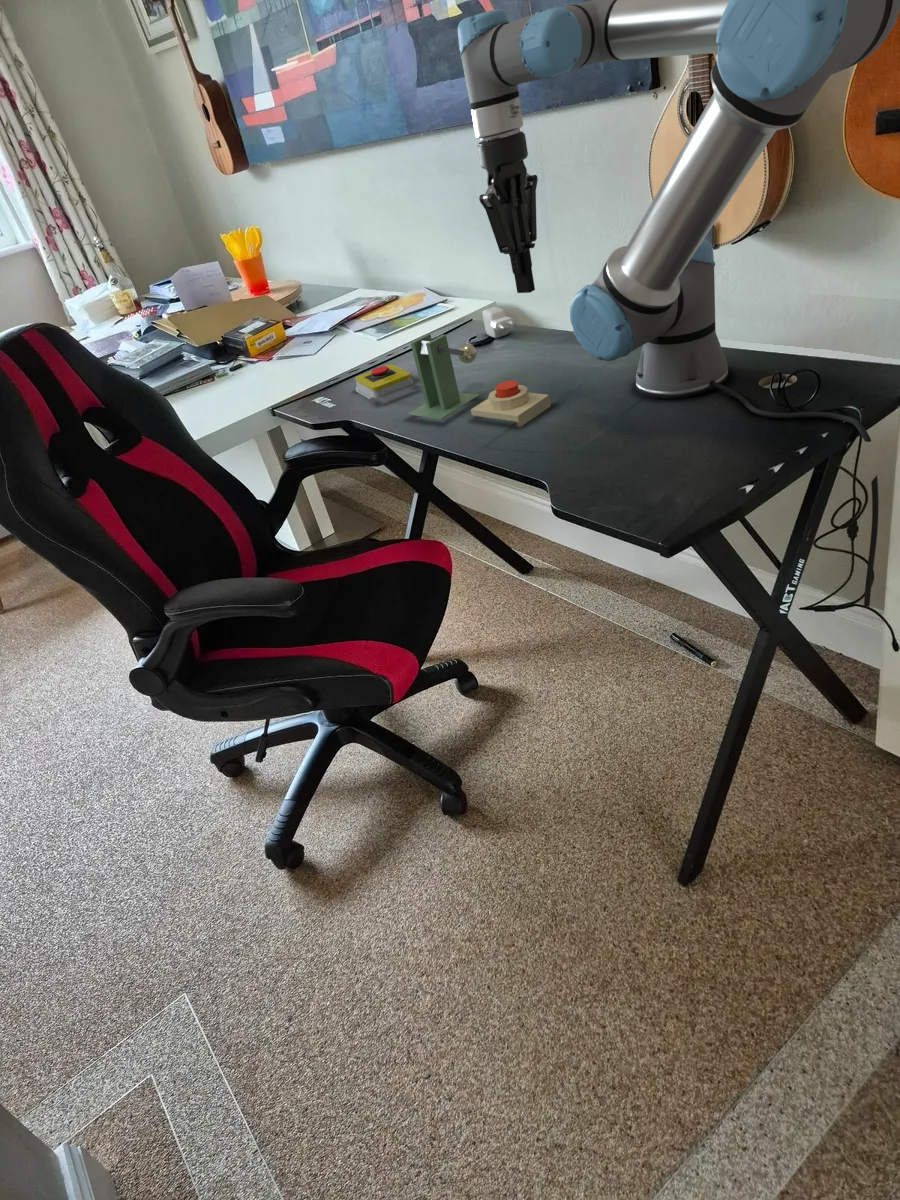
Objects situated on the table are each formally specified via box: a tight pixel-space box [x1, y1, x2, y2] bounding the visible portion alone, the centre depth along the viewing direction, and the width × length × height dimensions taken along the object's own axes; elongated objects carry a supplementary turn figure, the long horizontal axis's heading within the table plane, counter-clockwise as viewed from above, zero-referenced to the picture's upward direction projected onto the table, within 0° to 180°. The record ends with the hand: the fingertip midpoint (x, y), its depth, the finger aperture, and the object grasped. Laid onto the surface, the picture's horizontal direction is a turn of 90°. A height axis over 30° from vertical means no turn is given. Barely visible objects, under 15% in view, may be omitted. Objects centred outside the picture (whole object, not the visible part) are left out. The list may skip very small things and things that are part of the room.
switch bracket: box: [407, 333, 480, 420], centre depth 145 cm, size 11×9×14 cm
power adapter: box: [481, 306, 517, 339], centre depth 176 cm, size 11×5×6 cm, turn 22°
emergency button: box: [355, 363, 414, 400], centre depth 164 cm, size 9×4×15 cm
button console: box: [470, 384, 552, 428], centre depth 139 cm, size 11×9×4 cm
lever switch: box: [420, 341, 478, 364], centre depth 145 cm, size 13×4×4 cm, turn 138°
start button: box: [494, 380, 519, 398], centre depth 137 cm, size 4×4×2 cm
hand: (526, 291), depth 133 cm, fingers closed
